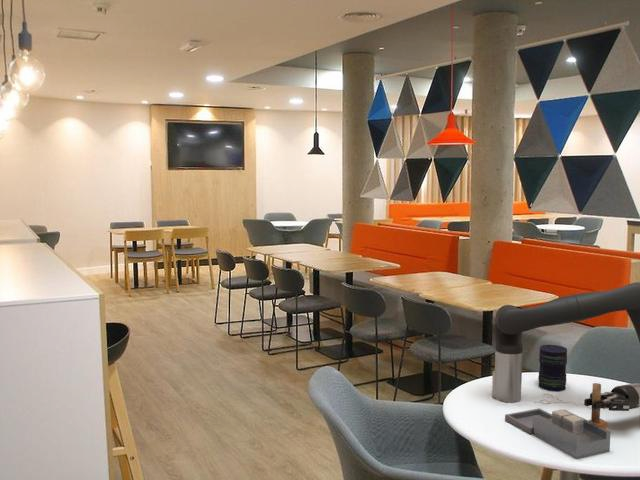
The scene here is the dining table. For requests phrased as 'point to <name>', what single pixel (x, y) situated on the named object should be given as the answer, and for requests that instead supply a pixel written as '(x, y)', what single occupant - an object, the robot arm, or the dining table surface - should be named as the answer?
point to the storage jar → (552, 368)
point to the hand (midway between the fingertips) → (589, 404)
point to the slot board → (573, 437)
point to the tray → (526, 419)
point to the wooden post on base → (596, 413)
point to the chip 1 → (559, 417)
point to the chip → (573, 424)
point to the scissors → (557, 401)
